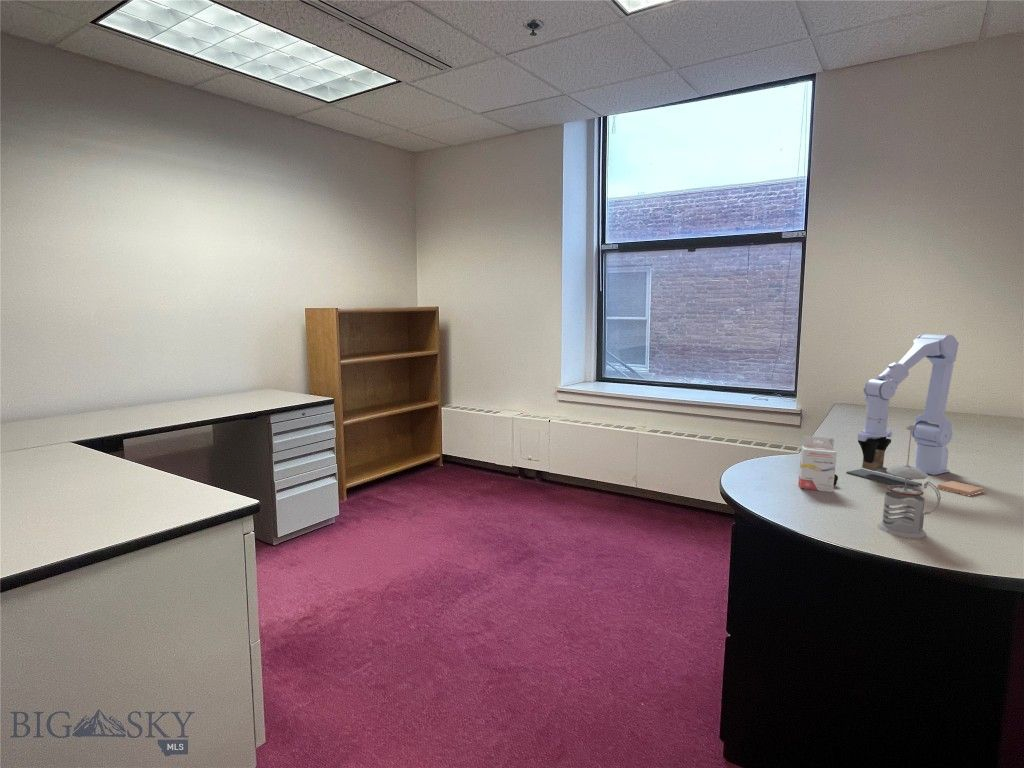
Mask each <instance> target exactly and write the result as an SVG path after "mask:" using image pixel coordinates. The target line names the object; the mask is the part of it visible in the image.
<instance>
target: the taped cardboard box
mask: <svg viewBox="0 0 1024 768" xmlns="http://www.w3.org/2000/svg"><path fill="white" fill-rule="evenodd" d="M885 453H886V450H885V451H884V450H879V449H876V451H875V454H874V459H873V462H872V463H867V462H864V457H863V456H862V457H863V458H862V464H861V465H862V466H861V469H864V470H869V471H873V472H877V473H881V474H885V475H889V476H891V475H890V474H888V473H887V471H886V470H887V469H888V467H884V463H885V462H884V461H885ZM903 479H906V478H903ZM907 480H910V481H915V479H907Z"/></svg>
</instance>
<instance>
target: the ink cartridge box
mask: <svg viewBox="0 0 1024 768" xmlns="http://www.w3.org/2000/svg"><path fill="white" fill-rule="evenodd" d="M814 441H819V442H814ZM821 442H822V443H821ZM834 442H835V439H834V438H833V437H824V436H823V437H821V436H810V435H809V436H807V435H804V436H803V437H802V445H801V448H800V449H801V450H800V451H801V452H800V463H799V472H798V473H799V474H798V482H797V483H798V487H799V488H800V489H801V488H804V489H803V490H809V489H811V490H810V491H818V490H819V491H821V492H828V493H833V492H834V476H835V473H836V463H837V451H836V450H835V449H834V444H835V443H834Z"/></svg>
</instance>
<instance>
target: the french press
mask: <svg viewBox="0 0 1024 768" xmlns="http://www.w3.org/2000/svg"><path fill="white" fill-rule="evenodd" d="M905 429H906V430H907V431H910V433H909V441H908V454H907V462H906V464H905V465H902V464H899V465H896V466H892V467H891V466H890V467H889V468H888V467H887V468H888V469H887V470H886V471H887V473H888V474H887V475H889V474H890V475H889V476H893V477H897V478H902V479H904V478H906V481H905V486H904V485H903V486H902V485H900V486H899V485H890V484H889V485H888V486H886V489H887V490H888V491H885V493H884V500H883V512H882V521H880V522H879V523H877V524H876V527H877V528H878V529H879V530H881V531H883V532H884V533H887V534H891V535H895V536H898V537H902V538H903V537H904V538H912V539H913V538H915V539H916V538H917V539H918V538H920V539H921V538H924V537H927V532H926V531H925V530H924V522H925V521H924V519H925V515H930V514H932V513H934V512H935V511H936V510H937V509H938V508H939V506H940V503H941V498H942V497H941V496H942V495H941V493H940V491H939V490H940V489H938V488H937V487H938V486H936V485H935V484H933V483H931V482H930V481H927V482H925V483H924V485H923V488H924V489H927V488H928V486H929V487H931V488H932V489H933V490H934V491H935V494H936V497H937V501H936V505H935V507H934V508H933V509H932V510H928V511H925V512H924V509H925V497H923V495H924V494H925V492H924V490H922V489H919V488H917V487H909V486H908V487H907V486H906V482H907V480H908V479H914V480H924V479H927V478H928V476H929V474H928V473H925V472H923V471H921V470H920V469H918V468H916V467H914V466H910V465H909V462H910V461H909V459H910V450H911V441H912V440H911V439H912V434H911V432H912V430H916V426H914V424H908V425H906V428H905ZM907 498H908V500H905V499H907ZM910 499H915V500H916V501H915V500H910ZM901 505H902V506H901ZM892 506H899V507H892ZM896 511H899V512H896ZM899 516H900V517H899Z"/></svg>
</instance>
